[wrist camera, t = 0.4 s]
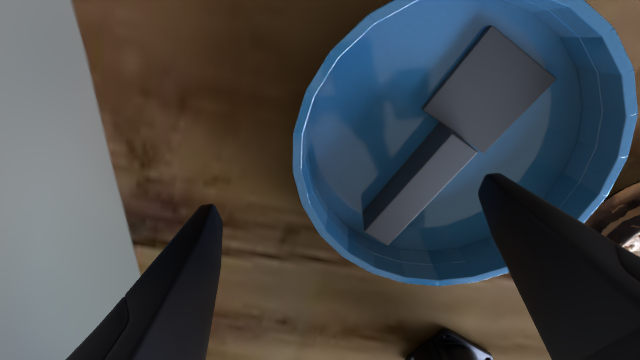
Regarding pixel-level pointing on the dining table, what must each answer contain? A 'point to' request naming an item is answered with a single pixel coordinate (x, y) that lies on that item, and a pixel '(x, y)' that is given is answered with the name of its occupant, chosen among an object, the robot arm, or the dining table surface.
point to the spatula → (459, 127)
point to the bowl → (502, 157)
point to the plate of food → (620, 218)
